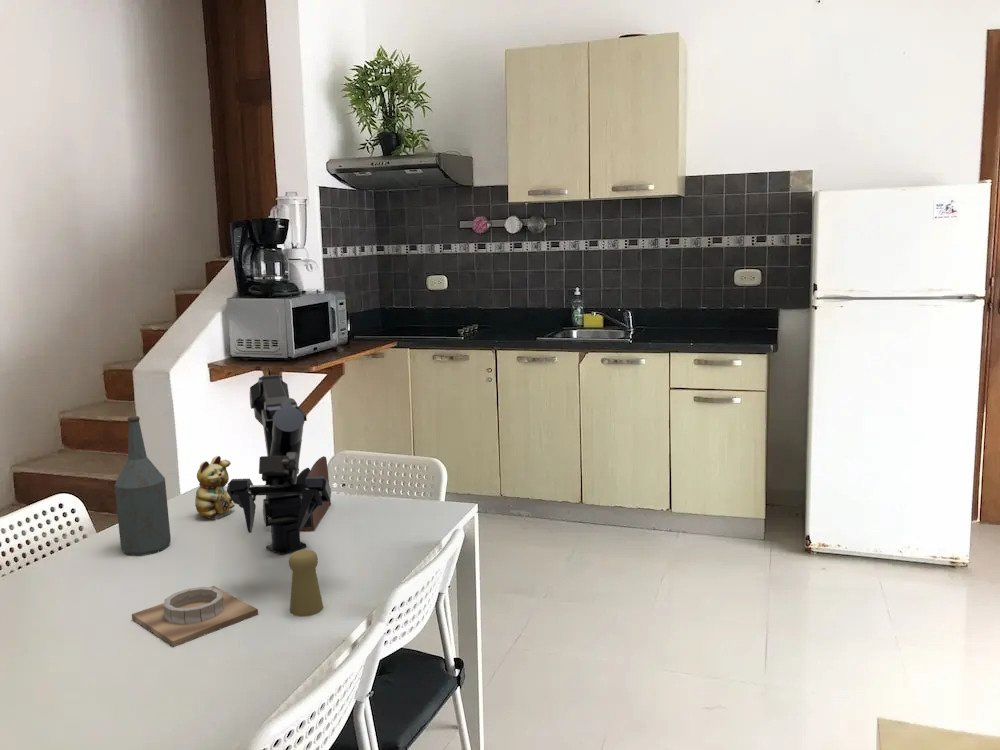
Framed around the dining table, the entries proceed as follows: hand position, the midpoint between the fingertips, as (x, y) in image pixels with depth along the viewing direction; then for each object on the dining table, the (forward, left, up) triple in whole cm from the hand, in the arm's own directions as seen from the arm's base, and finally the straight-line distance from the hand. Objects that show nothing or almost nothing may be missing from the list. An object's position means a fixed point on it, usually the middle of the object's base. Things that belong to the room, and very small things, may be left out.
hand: (274, 531), depth 156 cm
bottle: (-47, -4, -14) cm, 49 cm away
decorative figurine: (-56, +17, -14) cm, 60 cm away
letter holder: (-37, +30, -14) cm, 50 cm away
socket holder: (-5, -14, -13) cm, 20 cm away
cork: (+8, +1, -14) cm, 16 cm away
